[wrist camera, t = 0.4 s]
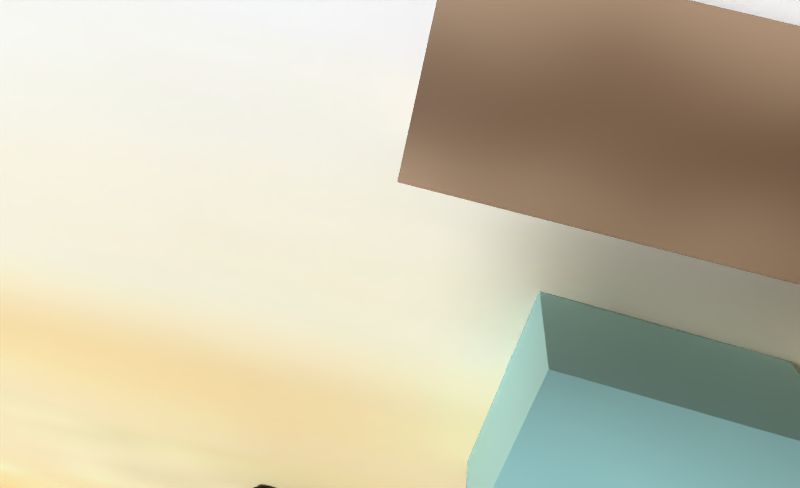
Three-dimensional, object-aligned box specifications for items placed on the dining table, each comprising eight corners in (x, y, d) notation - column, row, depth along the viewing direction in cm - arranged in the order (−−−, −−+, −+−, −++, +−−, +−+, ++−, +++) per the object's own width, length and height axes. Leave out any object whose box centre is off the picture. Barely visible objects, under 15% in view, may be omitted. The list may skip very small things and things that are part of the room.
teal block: (671, 515, 26) (705, 626, 22) (468, 456, 27) (461, 553, 22) (787, 357, 22) (860, 458, 17) (539, 287, 22) (548, 369, 18)
